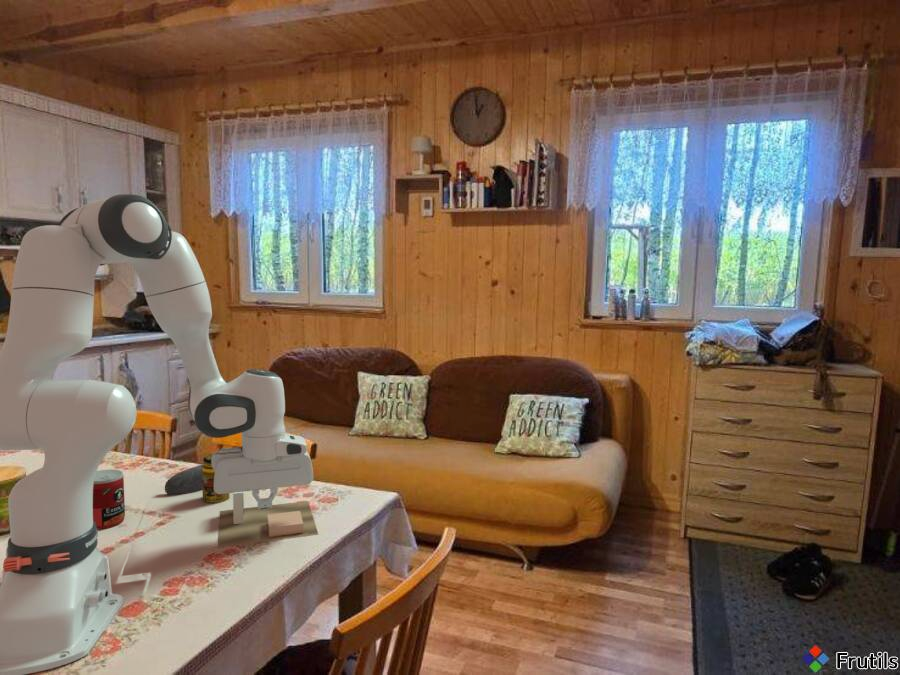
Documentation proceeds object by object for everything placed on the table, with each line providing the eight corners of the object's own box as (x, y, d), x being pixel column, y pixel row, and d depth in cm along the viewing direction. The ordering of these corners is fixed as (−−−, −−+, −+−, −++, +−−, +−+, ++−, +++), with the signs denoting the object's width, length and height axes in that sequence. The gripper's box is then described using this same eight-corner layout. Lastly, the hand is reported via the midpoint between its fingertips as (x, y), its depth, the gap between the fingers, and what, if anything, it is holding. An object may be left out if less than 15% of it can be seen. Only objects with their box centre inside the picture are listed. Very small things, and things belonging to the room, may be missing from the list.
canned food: (107, 531, 125) (105, 482, 124) (76, 527, 126) (73, 479, 125) (133, 517, 132) (131, 470, 131) (103, 513, 134) (101, 467, 133)
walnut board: (318, 539, 123) (318, 534, 123) (217, 553, 116) (217, 547, 116) (308, 505, 141) (308, 500, 141) (220, 515, 134) (219, 511, 134)
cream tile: (243, 523, 128) (243, 492, 127) (233, 524, 127) (232, 493, 126) (243, 510, 134) (242, 481, 133) (233, 511, 133) (233, 482, 133)
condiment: (202, 511, 137) (200, 462, 135) (199, 498, 144) (197, 451, 143) (234, 506, 140) (233, 458, 139) (230, 493, 147) (229, 448, 146)
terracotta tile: (269, 537, 121) (303, 533, 123) (269, 527, 121) (303, 523, 123) (267, 523, 128) (300, 519, 130) (267, 514, 127) (299, 510, 130)
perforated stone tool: (167, 503, 141) (166, 475, 140) (161, 496, 145) (160, 470, 144) (229, 489, 151) (228, 463, 150) (222, 483, 155) (221, 458, 154)
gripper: (210, 454, 116) (212, 520, 117) (314, 445, 123) (314, 507, 124) (211, 445, 122) (213, 508, 123) (310, 437, 129) (310, 496, 130)
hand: (265, 507), depth 124 cm, fingers closed
